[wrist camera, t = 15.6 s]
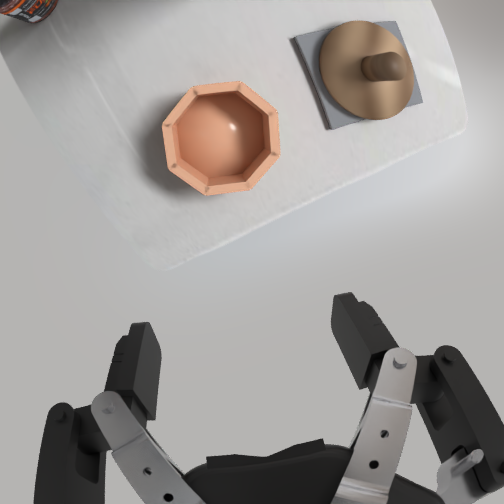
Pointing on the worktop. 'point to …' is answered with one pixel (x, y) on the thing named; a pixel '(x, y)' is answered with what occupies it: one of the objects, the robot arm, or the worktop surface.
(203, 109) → the bowl
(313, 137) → the worktop surface
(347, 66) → the lid
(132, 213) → the worktop surface
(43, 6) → the supplement bottle
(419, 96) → the mat
